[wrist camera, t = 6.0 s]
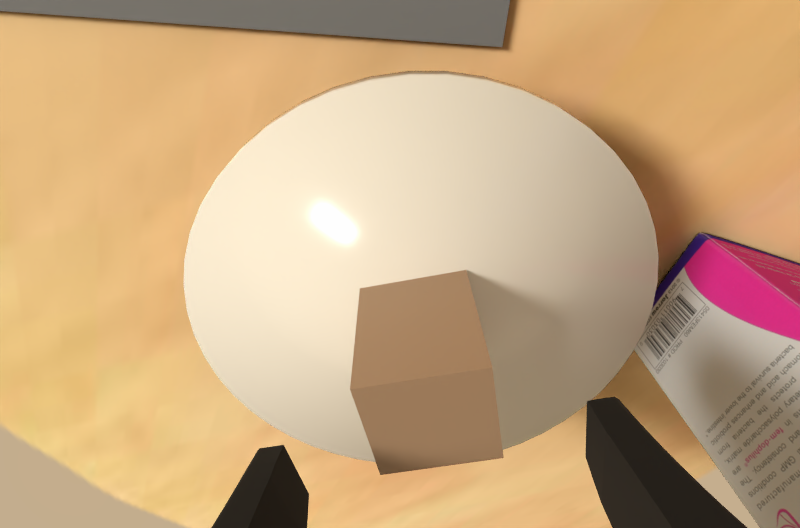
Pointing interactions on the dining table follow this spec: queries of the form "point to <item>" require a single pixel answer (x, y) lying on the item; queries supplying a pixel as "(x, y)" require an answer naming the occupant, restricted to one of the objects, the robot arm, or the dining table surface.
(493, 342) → the lid
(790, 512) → the supplement box
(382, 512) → the dining table surface
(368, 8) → the mat
